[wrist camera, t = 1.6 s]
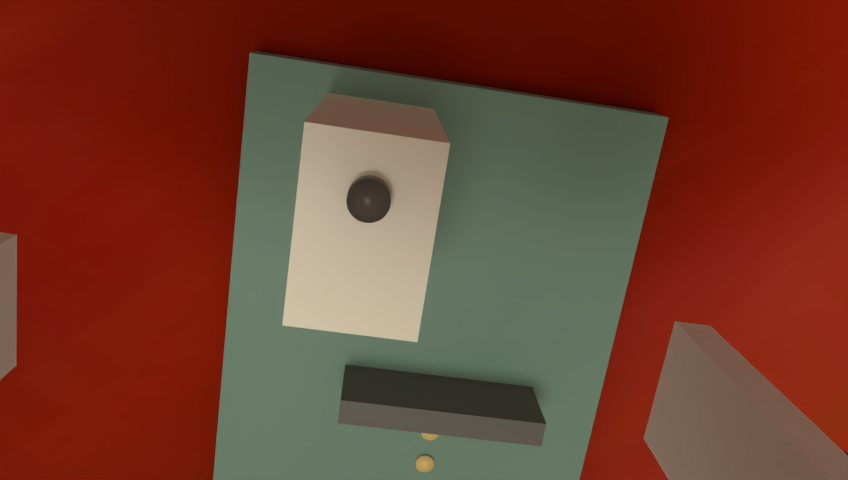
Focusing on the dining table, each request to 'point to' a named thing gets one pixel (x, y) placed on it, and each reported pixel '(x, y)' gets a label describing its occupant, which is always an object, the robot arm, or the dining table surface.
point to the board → (439, 290)
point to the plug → (365, 217)
